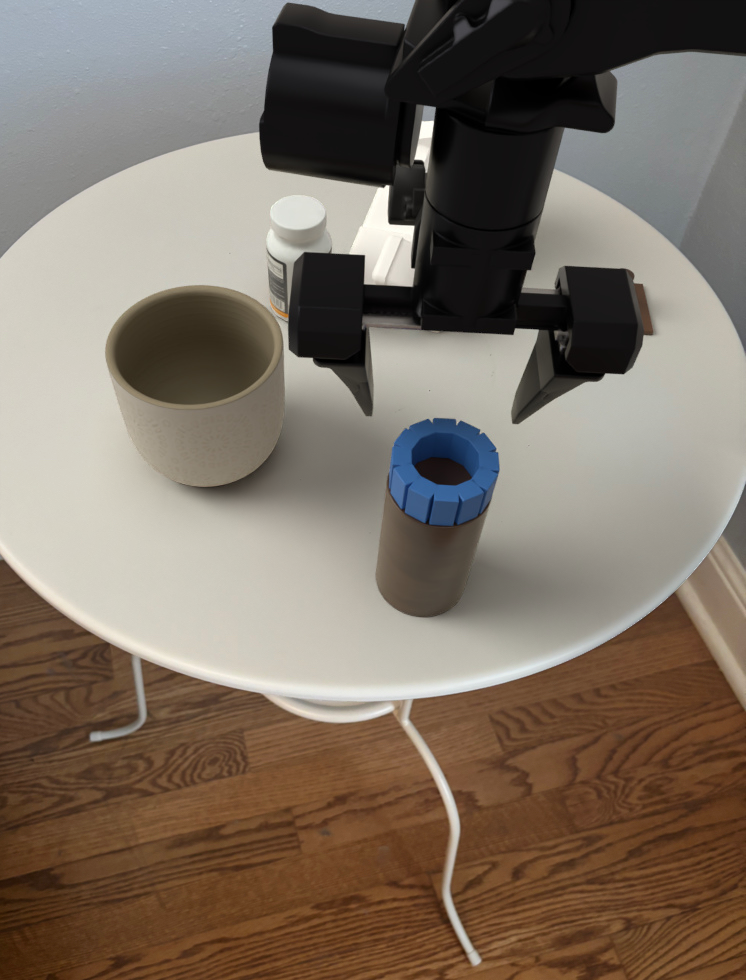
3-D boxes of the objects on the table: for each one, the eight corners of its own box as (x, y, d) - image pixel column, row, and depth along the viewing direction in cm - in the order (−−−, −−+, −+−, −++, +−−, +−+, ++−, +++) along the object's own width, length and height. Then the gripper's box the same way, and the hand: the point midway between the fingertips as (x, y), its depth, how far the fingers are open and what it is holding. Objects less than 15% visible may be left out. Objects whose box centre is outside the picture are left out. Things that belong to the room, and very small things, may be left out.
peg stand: (641, 286, 80) (655, 252, 77) (652, 335, 76) (667, 301, 73) (572, 283, 80) (583, 248, 77) (580, 330, 76) (592, 297, 73)
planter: (311, 413, 70) (311, 312, 61) (246, 526, 63) (235, 432, 54) (178, 370, 72) (159, 266, 63) (103, 475, 66) (69, 376, 57)
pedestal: (463, 542, 63) (490, 446, 54) (466, 619, 60) (495, 531, 50) (376, 537, 63) (387, 440, 54) (374, 614, 60) (385, 525, 50)
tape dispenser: (450, 358, 81) (445, 301, 68) (342, 323, 83) (318, 261, 70) (524, 173, 82) (532, 84, 69) (416, 144, 84) (405, 51, 72)
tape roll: (489, 446, 54) (496, 420, 52) (494, 528, 50) (502, 504, 48) (389, 441, 54) (393, 414, 52) (388, 522, 50) (391, 498, 48)
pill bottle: (334, 287, 79) (336, 193, 70) (327, 329, 75) (329, 235, 67) (274, 282, 79) (269, 187, 70) (265, 324, 76) (259, 229, 67)
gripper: (652, 110, 44) (574, 333, 57) (300, 91, 44) (302, 319, 57) (692, 245, 38) (595, 460, 51) (283, 223, 38) (290, 444, 51)
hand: (441, 414), depth 53 cm, fingers open, 9 cm apart
